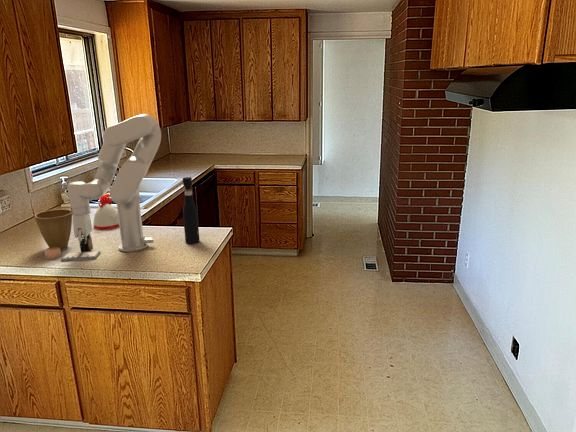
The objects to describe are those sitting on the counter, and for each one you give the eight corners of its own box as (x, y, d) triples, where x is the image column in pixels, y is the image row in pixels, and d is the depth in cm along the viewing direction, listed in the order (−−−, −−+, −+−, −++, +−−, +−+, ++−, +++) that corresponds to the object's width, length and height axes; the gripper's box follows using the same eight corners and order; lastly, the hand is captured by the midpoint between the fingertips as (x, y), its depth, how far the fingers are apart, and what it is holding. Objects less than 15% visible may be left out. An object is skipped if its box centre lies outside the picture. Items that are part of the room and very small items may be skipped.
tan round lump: (63, 254, 197) (62, 246, 196) (58, 259, 192) (57, 251, 191) (48, 255, 197) (47, 247, 196) (43, 260, 191) (42, 252, 190)
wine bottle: (184, 241, 210) (178, 177, 202) (198, 239, 213) (192, 176, 204) (187, 245, 204) (181, 179, 196) (201, 243, 207) (195, 178, 199)
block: (92, 248, 203) (91, 238, 202) (90, 251, 199) (88, 240, 198) (83, 249, 203) (82, 238, 201) (80, 252, 199) (79, 241, 198)
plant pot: (39, 254, 197) (32, 219, 192) (42, 244, 210) (36, 211, 206) (76, 249, 202) (71, 215, 198) (77, 240, 215) (72, 207, 211)
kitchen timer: (127, 223, 240) (124, 196, 236) (107, 231, 228) (103, 202, 224) (109, 220, 246) (105, 193, 242) (88, 227, 235) (83, 199, 231)
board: (100, 253, 197) (100, 250, 197) (96, 258, 191) (95, 256, 190) (66, 255, 196) (66, 252, 195) (61, 261, 189) (60, 258, 189)
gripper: (77, 205, 204) (83, 244, 209) (65, 216, 188) (71, 257, 193) (95, 205, 205) (100, 243, 210) (84, 214, 188) (90, 256, 193)
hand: (86, 249), depth 201 cm, fingers open, 4 cm apart
